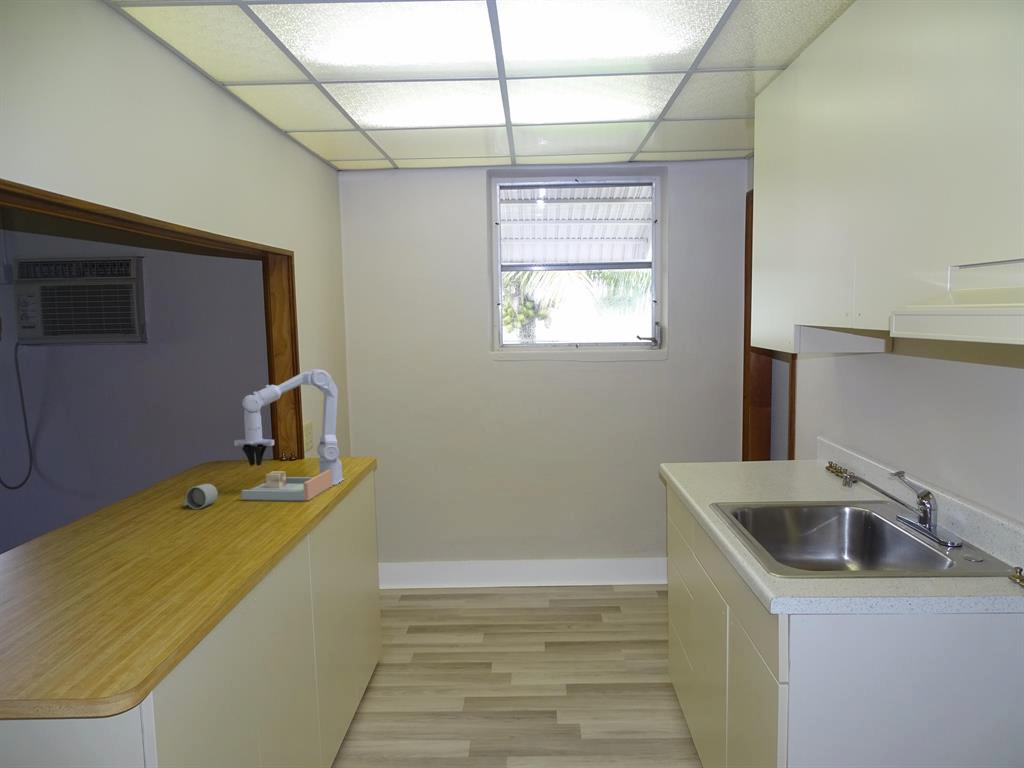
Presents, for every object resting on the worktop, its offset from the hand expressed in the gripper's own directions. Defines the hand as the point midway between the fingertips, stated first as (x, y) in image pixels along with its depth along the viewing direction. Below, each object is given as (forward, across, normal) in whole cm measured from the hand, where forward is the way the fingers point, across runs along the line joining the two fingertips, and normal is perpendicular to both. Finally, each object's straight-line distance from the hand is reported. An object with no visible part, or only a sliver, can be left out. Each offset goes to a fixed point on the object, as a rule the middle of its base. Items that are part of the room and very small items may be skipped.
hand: (255, 465), depth 248 cm
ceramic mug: (+11, -12, -18) cm, 24 cm away
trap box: (+10, +12, 0) cm, 16 cm away
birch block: (+8, +8, 0) cm, 11 cm away
